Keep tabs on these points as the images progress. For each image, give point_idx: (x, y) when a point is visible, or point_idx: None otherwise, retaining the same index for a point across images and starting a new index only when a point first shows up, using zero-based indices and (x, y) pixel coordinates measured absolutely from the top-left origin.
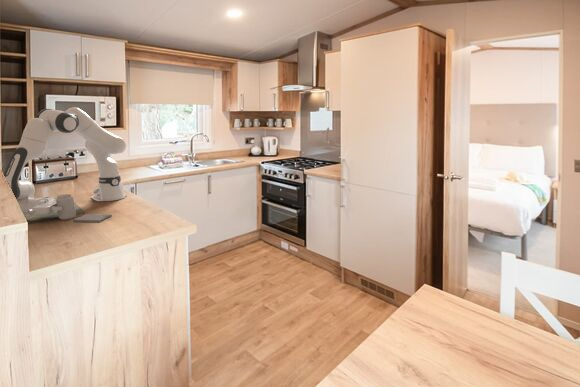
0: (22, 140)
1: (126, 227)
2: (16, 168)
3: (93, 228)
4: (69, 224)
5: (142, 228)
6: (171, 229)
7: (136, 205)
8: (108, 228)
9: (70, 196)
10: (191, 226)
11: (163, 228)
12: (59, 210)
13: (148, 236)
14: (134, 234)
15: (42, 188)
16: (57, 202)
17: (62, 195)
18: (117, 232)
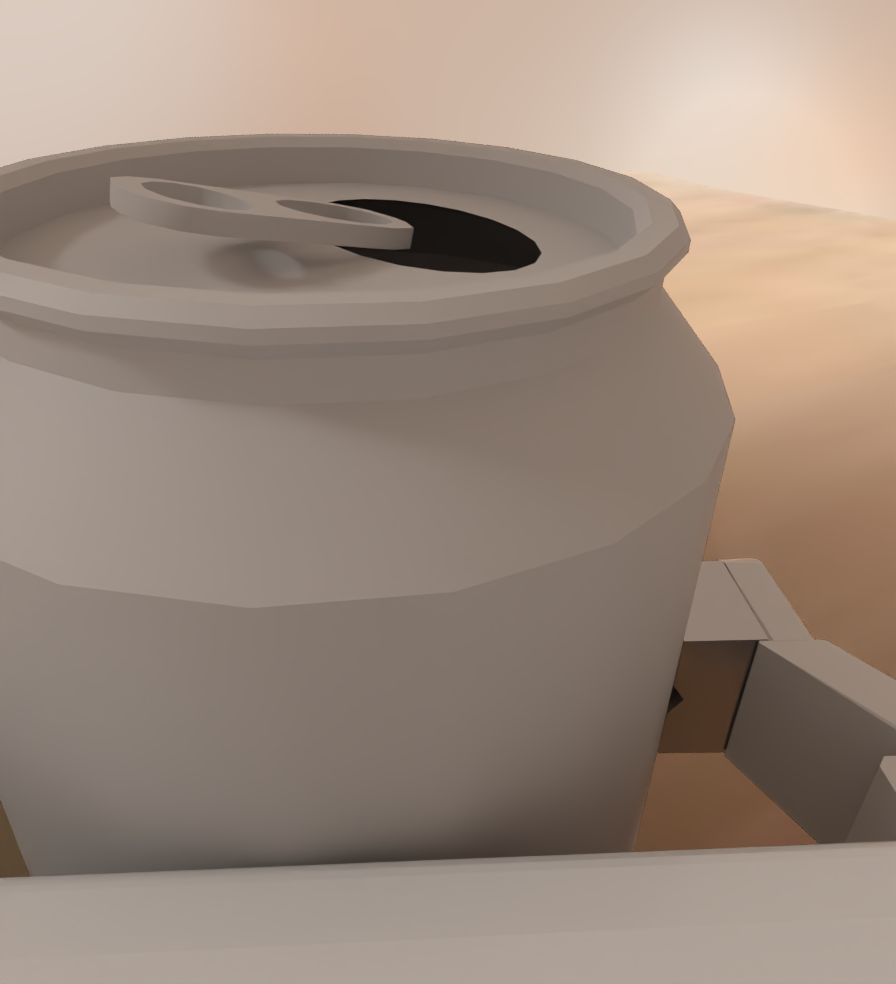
0: None
1: (733, 276)
2: None
3: (860, 390)
4: (843, 649)
5: (725, 238)
6: (702, 192)
7: None
8: (804, 327)
9: (323, 185)
10: (632, 171)
11: (694, 204)
12: (640, 818)
13: (854, 217)
14: (856, 243)
15: None
16: (692, 568)
17: (249, 215)
18: (867, 285)
